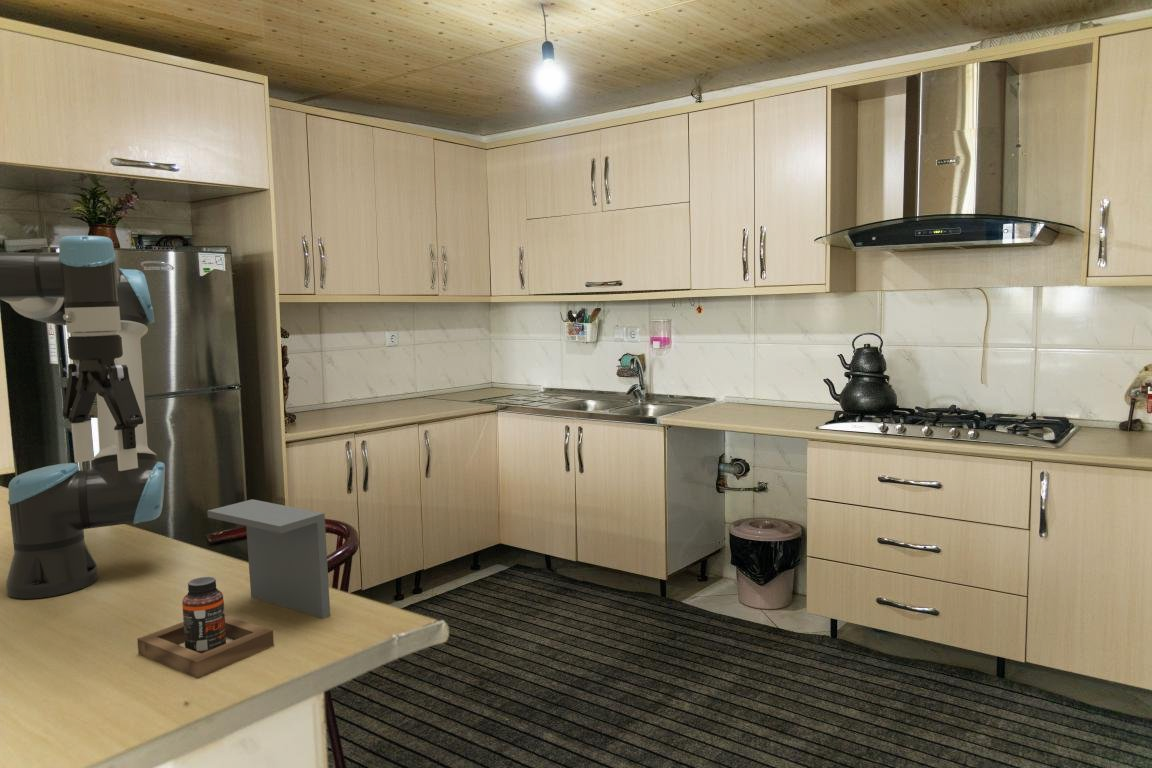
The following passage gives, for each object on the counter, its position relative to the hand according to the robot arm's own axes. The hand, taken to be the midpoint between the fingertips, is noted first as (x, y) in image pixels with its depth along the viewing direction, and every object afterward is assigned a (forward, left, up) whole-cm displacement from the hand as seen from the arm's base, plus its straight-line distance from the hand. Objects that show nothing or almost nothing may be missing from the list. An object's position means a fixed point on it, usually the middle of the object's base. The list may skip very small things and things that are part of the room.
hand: (105, 465), depth 133 cm
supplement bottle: (+18, +4, -29) cm, 34 cm away
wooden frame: (+18, +4, -29) cm, 34 cm away
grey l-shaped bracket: (+14, +19, -29) cm, 37 cm away
